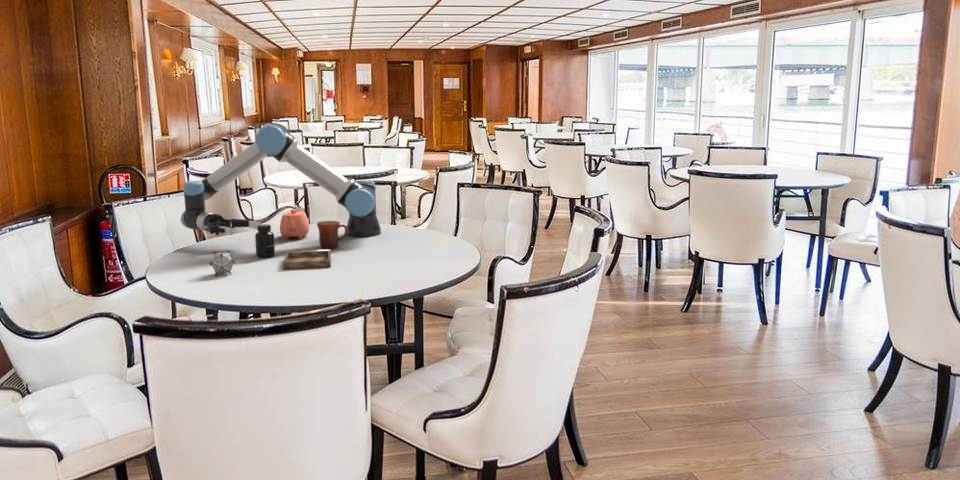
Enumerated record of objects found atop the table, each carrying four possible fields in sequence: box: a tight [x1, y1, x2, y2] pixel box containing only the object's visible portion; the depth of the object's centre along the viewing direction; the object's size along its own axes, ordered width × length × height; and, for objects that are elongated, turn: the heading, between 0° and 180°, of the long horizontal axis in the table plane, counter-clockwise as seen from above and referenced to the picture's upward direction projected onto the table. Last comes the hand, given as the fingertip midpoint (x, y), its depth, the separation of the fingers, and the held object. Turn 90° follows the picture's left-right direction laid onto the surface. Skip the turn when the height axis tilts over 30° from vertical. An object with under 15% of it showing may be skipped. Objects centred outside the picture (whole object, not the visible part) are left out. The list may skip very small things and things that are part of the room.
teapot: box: [279, 208, 310, 240], centre depth 300 cm, size 20×12×12 cm, turn 2°
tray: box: [283, 250, 332, 270], centre depth 257 cm, size 16×16×2 cm
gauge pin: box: [297, 249, 332, 252], centre depth 268 cm, size 12×2×2 cm, turn 102°
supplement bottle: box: [254, 223, 276, 259], centre depth 266 cm, size 7×7×12 cm
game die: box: [208, 250, 236, 276], centre depth 241 cm, size 9×8×10 cm
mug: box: [316, 220, 348, 250], centre depth 280 cm, size 12×9×10 cm
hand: (246, 228), depth 270 cm, fingers open, 13 cm apart
